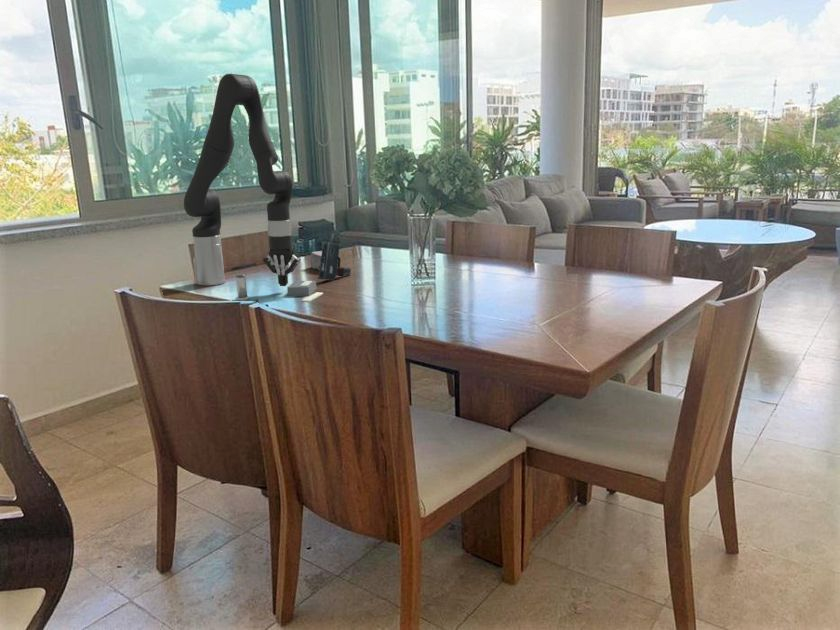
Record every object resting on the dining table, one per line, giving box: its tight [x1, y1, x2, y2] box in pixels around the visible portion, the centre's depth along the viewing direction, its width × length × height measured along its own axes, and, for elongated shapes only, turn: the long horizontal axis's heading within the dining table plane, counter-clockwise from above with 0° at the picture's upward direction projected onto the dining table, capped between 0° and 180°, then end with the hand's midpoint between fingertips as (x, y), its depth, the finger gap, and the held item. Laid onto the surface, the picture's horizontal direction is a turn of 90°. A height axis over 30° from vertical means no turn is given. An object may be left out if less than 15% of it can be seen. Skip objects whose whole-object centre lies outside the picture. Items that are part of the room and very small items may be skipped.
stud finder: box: [286, 280, 317, 297], centre depth 215 cm, size 7×10×4 cm
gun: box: [317, 232, 352, 281], centre depth 234 cm, size 3×17×15 cm
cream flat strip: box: [301, 291, 324, 303], centre depth 207 cm, size 2×11×1 cm, turn 165°
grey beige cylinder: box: [234, 273, 250, 301], centre depth 207 cm, size 4×4×8 cm
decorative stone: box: [309, 250, 322, 272], centre depth 253 cm, size 15×7×10 cm
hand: (283, 285), depth 216 cm, fingers closed
